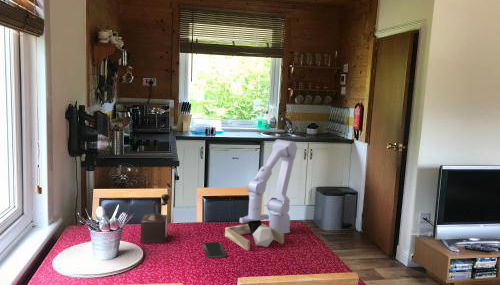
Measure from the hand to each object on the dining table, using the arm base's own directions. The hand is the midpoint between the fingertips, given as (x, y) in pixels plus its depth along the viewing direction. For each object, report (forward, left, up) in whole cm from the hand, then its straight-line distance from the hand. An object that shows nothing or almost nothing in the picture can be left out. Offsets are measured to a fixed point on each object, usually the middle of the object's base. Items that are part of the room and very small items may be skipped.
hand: (253, 236), depth 183 cm
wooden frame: (0, 0, -1) cm, 1 cm away
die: (0, +7, -2) cm, 8 cm away
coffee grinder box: (+38, -21, -2) cm, 44 cm away
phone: (+22, +4, -2) cm, 22 cm away
